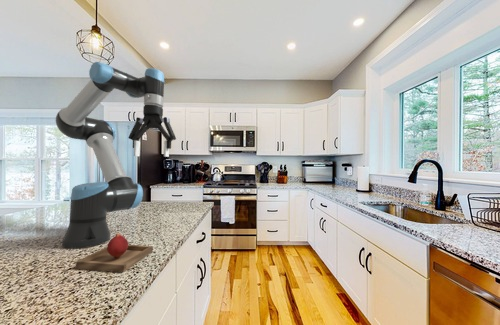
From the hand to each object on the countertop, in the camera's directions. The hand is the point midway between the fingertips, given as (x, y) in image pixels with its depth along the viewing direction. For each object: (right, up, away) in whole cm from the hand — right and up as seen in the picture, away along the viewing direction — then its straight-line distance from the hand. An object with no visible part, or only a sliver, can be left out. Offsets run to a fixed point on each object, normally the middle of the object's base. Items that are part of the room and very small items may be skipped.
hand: (151, 156), depth 88 cm
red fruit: (-2, -34, -20) cm, 39 cm away
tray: (-2, -34, -20) cm, 39 cm away
